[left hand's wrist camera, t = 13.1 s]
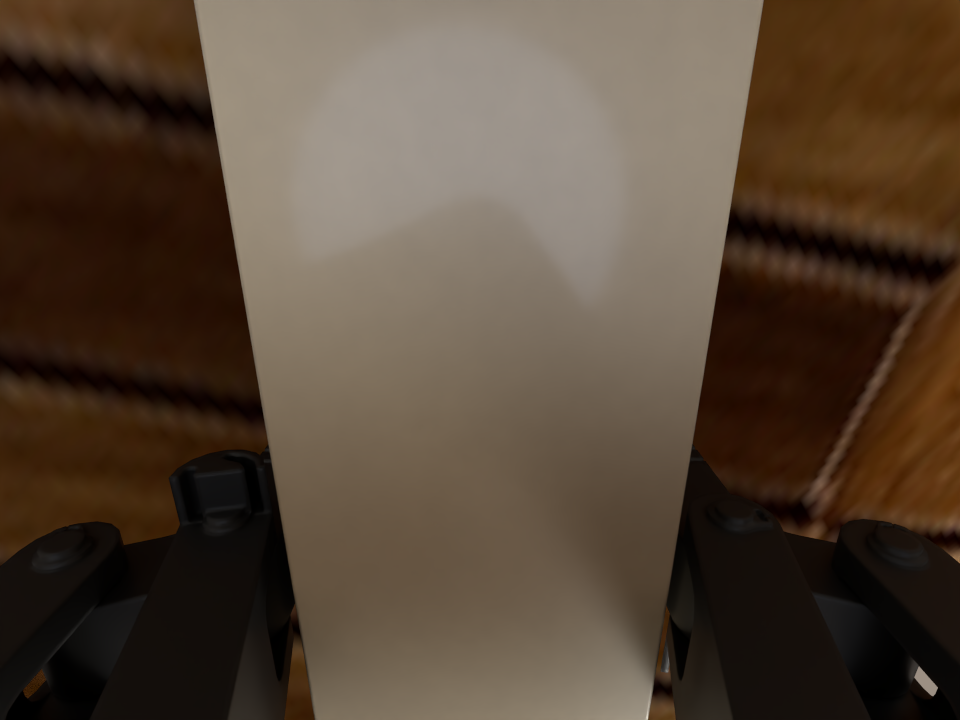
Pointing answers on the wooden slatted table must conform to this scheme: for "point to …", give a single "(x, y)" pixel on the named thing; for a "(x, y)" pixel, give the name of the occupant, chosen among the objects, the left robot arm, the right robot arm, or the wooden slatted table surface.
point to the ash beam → (479, 328)
